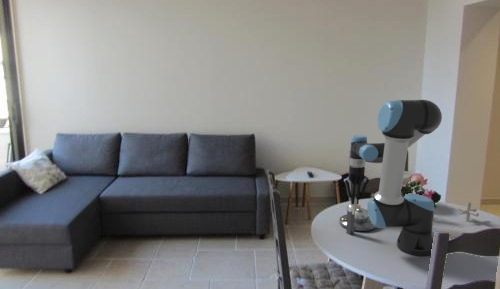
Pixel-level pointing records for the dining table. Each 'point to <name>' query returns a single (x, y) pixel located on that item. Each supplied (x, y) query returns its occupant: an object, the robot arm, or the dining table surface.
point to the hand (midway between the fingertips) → (354, 210)
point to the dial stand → (350, 219)
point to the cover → (361, 216)
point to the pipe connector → (468, 211)
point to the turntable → (357, 226)
